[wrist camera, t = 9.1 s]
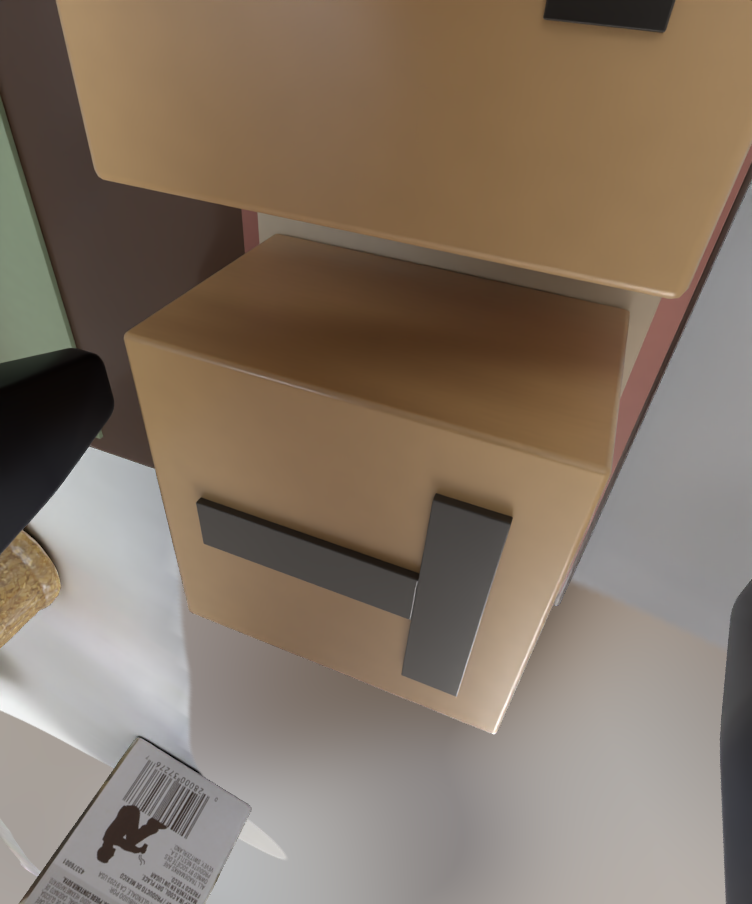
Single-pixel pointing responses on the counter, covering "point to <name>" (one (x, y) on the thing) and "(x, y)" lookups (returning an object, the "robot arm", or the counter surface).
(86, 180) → the letter board
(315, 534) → the tile
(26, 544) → the sprinkles bottle
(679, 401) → the counter surface
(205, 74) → the tile
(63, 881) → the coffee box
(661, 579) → the counter surface
